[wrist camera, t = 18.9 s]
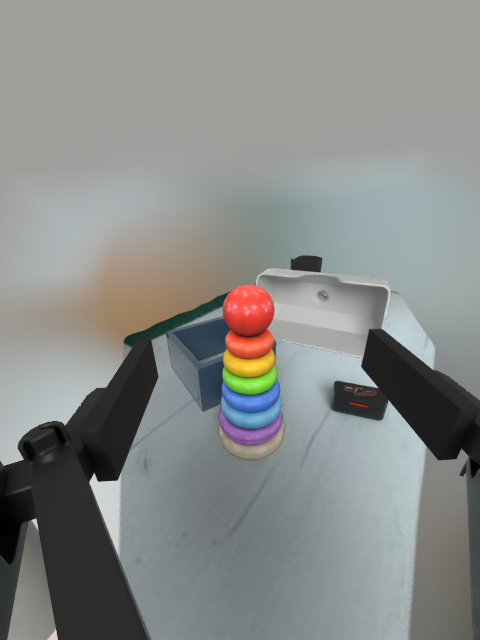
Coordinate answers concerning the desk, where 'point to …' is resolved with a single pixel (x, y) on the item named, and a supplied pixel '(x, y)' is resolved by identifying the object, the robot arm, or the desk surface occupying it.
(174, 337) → the square holder
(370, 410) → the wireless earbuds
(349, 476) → the desk surface
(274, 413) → the stacking toy
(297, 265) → the pen holder
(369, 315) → the light grey open box
